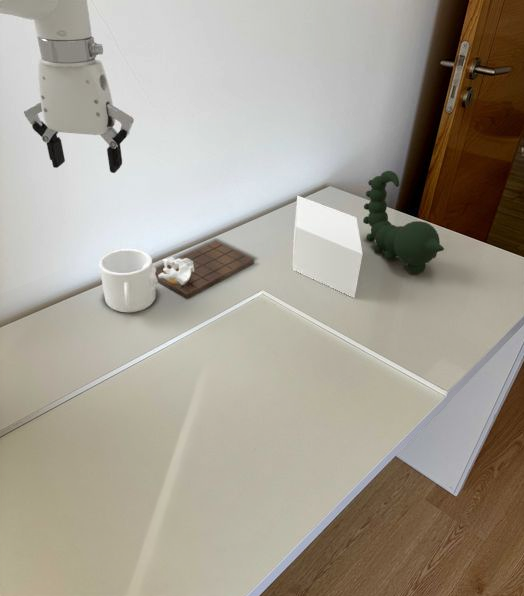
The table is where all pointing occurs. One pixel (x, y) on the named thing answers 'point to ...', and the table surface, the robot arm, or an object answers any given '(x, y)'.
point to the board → (207, 268)
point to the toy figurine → (398, 230)
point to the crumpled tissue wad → (184, 269)
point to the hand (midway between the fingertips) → (87, 167)
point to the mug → (128, 280)
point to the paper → (327, 246)
